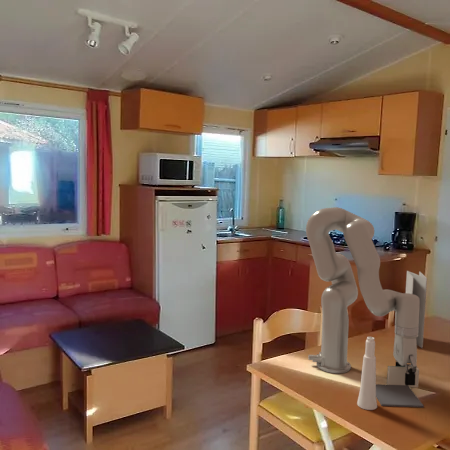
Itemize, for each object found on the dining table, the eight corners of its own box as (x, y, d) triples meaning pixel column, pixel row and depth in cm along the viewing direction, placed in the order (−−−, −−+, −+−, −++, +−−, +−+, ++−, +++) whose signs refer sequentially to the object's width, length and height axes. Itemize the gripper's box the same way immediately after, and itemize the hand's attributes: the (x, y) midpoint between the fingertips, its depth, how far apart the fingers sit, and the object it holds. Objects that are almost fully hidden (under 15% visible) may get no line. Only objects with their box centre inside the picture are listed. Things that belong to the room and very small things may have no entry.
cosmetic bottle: (381, 407, 145) (385, 339, 142) (368, 412, 141) (372, 342, 139) (365, 399, 150) (369, 333, 147) (353, 403, 146) (356, 336, 144)
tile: (388, 386, 159) (389, 368, 158) (386, 383, 161) (387, 366, 160) (418, 387, 159) (419, 369, 158) (415, 384, 161) (417, 366, 160)
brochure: (422, 348, 195) (427, 278, 192) (408, 347, 196) (413, 277, 193) (415, 336, 209) (420, 271, 206) (402, 335, 210) (406, 270, 207)
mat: (381, 405, 145) (381, 404, 145) (369, 385, 159) (369, 384, 159) (423, 407, 145) (423, 405, 145) (407, 387, 159) (408, 385, 159)
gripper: (387, 322, 166) (386, 368, 168) (404, 338, 149) (402, 389, 151) (408, 322, 166) (407, 368, 168) (427, 339, 149) (425, 390, 150)
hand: (404, 378), depth 159 cm, fingers open, 9 cm apart
